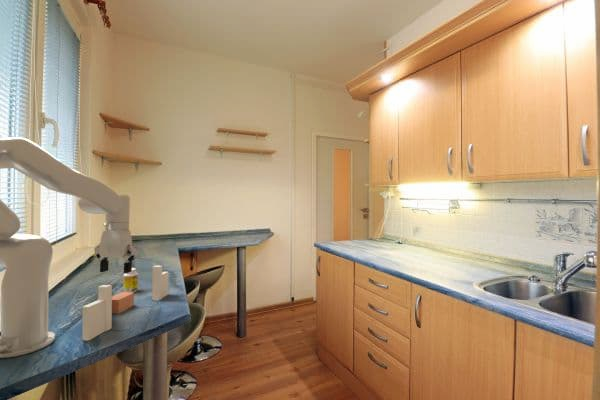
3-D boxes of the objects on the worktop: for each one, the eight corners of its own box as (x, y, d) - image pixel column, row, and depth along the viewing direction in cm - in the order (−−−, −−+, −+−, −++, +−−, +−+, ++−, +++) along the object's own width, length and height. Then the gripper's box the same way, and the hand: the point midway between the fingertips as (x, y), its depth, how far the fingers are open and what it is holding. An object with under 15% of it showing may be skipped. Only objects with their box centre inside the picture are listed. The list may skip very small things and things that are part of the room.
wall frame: (89, 340, 81) (90, 293, 81) (80, 340, 82) (81, 293, 82) (169, 294, 121) (169, 262, 121) (163, 294, 121) (163, 262, 121)
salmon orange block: (118, 313, 101) (118, 300, 101) (106, 312, 101) (106, 299, 101) (133, 305, 109) (133, 292, 109) (122, 304, 109) (122, 292, 109)
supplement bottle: (133, 293, 122) (133, 270, 122) (120, 293, 121) (120, 270, 121) (140, 289, 127) (140, 267, 127) (127, 289, 127) (127, 267, 127)
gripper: (88, 226, 102) (86, 273, 101) (131, 228, 99) (129, 275, 99) (104, 225, 109) (103, 268, 109) (145, 226, 107) (143, 270, 107)
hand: (115, 272), depth 104 cm, fingers open, 9 cm apart
